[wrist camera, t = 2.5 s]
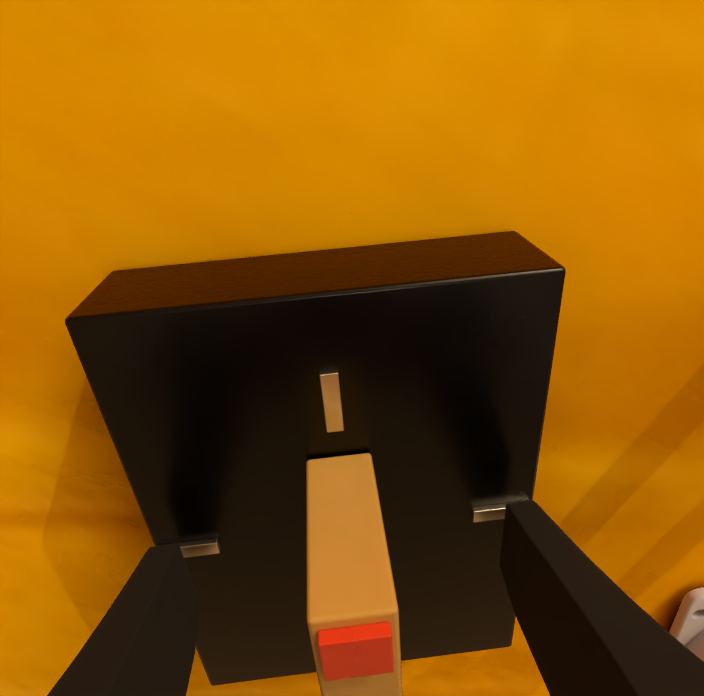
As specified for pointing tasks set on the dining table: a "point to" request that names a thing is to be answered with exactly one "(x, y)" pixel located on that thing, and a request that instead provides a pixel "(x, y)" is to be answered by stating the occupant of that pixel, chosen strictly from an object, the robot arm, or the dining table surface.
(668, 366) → the dining table surface
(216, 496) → the plate
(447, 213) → the dining table surface
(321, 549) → the tan block red patch
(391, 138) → the dining table surface
